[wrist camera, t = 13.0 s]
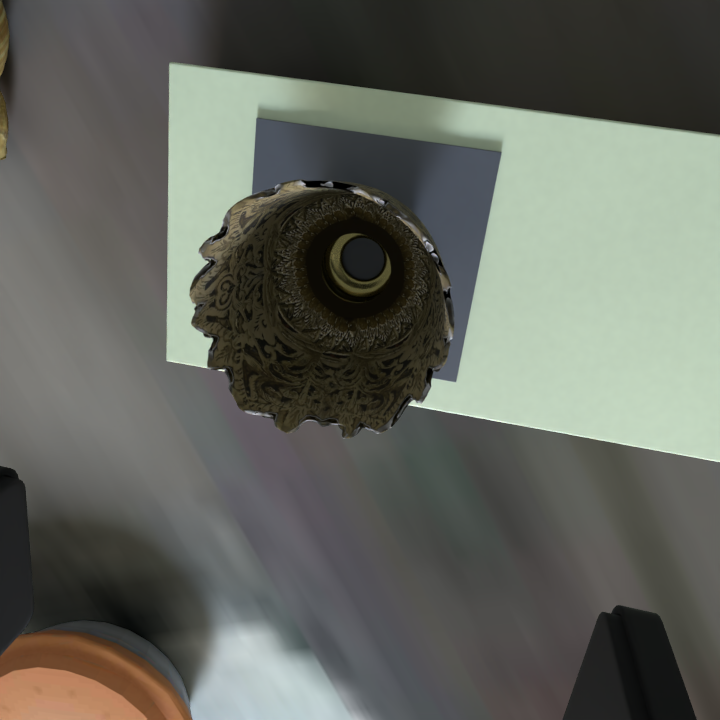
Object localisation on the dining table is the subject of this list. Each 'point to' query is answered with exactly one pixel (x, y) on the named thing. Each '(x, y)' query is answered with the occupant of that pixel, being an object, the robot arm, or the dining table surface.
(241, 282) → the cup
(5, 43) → the seashell
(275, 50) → the dining table surface
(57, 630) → the pie
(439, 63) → the dining table surface
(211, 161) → the shelf
